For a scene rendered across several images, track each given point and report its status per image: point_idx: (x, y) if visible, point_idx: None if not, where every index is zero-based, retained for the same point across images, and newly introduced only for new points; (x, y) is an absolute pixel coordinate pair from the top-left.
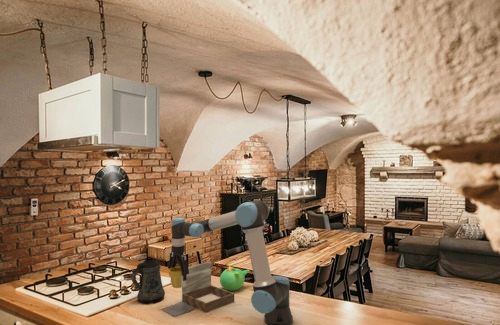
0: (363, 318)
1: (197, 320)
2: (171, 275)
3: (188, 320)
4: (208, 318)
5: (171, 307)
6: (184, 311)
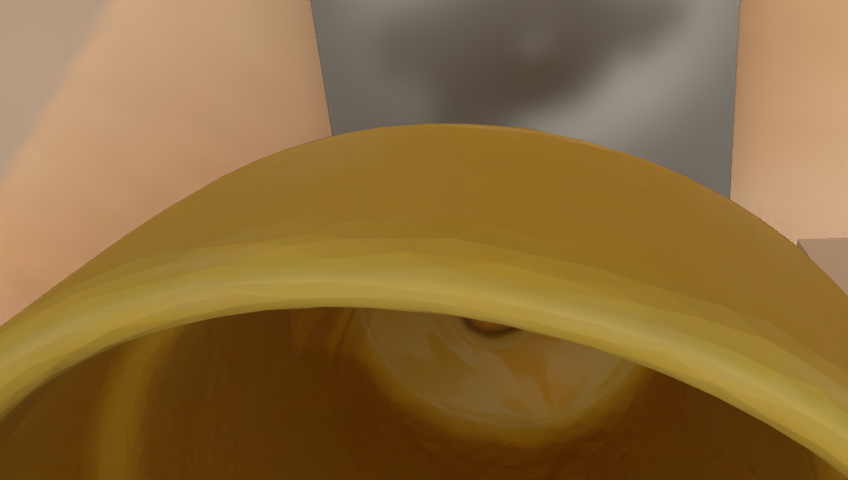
0: None
1: (40, 120)
2: (299, 160)
3: (96, 28)
4: (31, 248)
5: (647, 53)
6: (361, 129)
